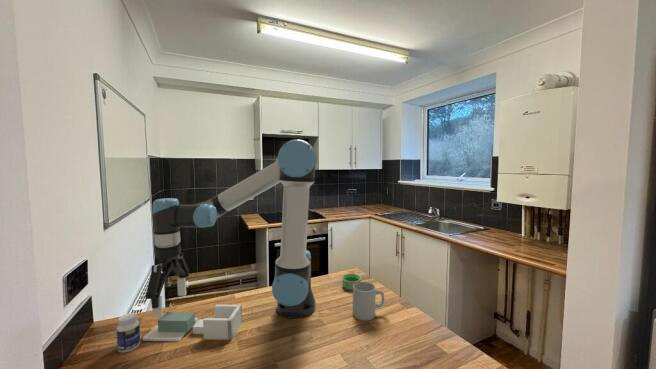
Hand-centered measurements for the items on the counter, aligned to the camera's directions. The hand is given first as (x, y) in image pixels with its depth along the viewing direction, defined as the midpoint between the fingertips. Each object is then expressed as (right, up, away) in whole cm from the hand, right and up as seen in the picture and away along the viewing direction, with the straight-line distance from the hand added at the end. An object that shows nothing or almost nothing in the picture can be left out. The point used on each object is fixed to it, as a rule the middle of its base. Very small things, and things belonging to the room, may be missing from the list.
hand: (170, 305), depth 92 cm
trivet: (0, -9, +1) cm, 9 cm away
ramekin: (+65, -6, +33) cm, 73 cm away
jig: (+16, -9, 0) cm, 18 cm away
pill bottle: (-8, -10, -8) cm, 15 cm away
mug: (+69, -8, +10) cm, 70 cm away
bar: (+2, -8, 0) cm, 8 cm away
